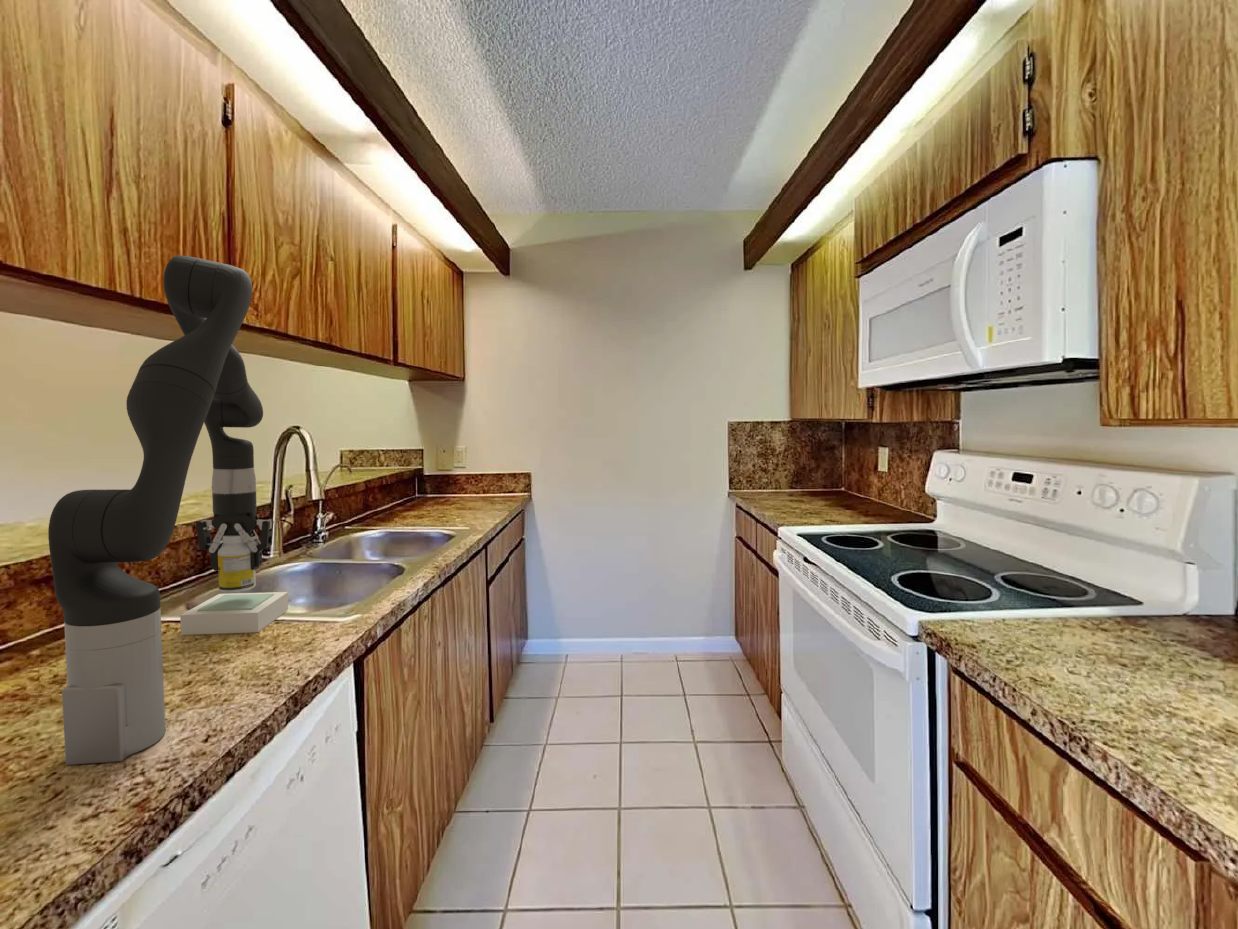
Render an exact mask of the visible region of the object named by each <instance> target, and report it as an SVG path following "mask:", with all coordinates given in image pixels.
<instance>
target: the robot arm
mask: <svg viewBox="0 0 1238 929" xmlns="http://www.w3.org/2000/svg"><path fill="white" fill-rule="evenodd" d="M163 289H164V290H163V291H164V294H165V298H166V301H167V304H168V307H169V308H170V311H171V312H172V315H173V316H174V318H175V320H176V322H177V323H178V326H179V328H180V329H181V331H182V333H183V336H181V337H179V338H177V339H175V340H173V341H172V342H170V343H168V344H166V345H164V346H163V347H160V348H159V349H158V350H156V351H154V352H153V353H152V354H150V355H149V356H148V357H147V358H145V360H144V361H143V362H142V364H141V365H140V366H139V369H138V371H137V373H136V376H135V377H134V378H135V379H134V381H133V383H132V385H131V386H130V387H131V388H130V389H129V391H128V395H127V396H126V400H125V401H126V413H127V416H128V418H129V421H130V423H131V426H132V428H133V430H134V432H135V435H136V437H137V438H138V440H139V443H140V446H141V448H142V451H143V453H142V454H143V461H142V465H141V469H140V473H139V476H138V478H137V481H136V482H135V484H134V486H132V488H131V489H80V490H74V491H71V492H68V493H66V494H65V495H63V496H62V497H61V498H60V499H59V500H58V501H57V502H56V504H55V505H54V507H53V508H52V511H51V514H50V518H49V523H48V532H47V533H48V536H47V537H48V546H49V547H48V548H49V549H48V550H49V556H50V561H51V562H50V563H51V570H52V578H53V585H54V586H53V588H54V595H55V598H56V601H57V603H58V604H59V606H60V608H61V609H62V612H63V622H64V623H63V625H64V645H65V646H64V647H65V666H66V667H65V668H66V684H67V685H66V687H64V689H62V692H61V701H62V718H63V722H62V723H63V734H64V735H63V736H64V737H63V738H64V757H65V758H64V759H65V765H66V766H67V765H68V766H69V765H80V764H81V765H82V764H97V763H111V762H114V763H115V762H122V761H123V760H125V759H126V758H128V757H129V756H131V755H134V754H136V753H138V752H140V751H143V750H145V749H148V748H149V747H150V746H151V747H152V745H154V744H155V743H157V742H158V741H159V740H161V739H162V738H163V736H164V735H165V734H166V712H165V711H166V710H165V709H166V708H165V689H164V688H165V687H164V686H165V684H164V668H163V667H164V663H163V644H162V643H163V642H162V641H163V637H162V611H161V609H162V608H161V591H160V590H159V588H158V586H157V585H156V584H153V583H151V582H147V581H144V580H141V579H138V578H136V577H135V576H132V575H130V574H128V573H127V572H126V571H124V570H123V569H122V568H121V567H120V566H119V564H118V563H138V562H141V563H142V562H146V561H152V560H153V559H156V558H157V557H158V556H159V555H161V554H162V553H163V552H164V550H165V548H166V547H167V546H168V545H169V542H170V540H171V538H172V536H173V534H174V529H175V525H176V523H177V519H178V514H179V511H180V507H181V500H182V497H183V493H184V488H185V484H186V480H187V475H188V471H189V467H190V464H191V461H192V457H193V454H194V452H195V449H196V445H197V442H198V439H199V437H200V434H201V431H202V429H203V425H205V427H206V431H207V433H208V437H209V440H210V444H211V451H212V452H211V453H212V476H211V477H212V478H211V493H212V495H211V496H212V501H211V502H212V513H213V517H212V519H210V520H209V519H201V520H199V521H197V522H196V523H195V526H196V527H195V528H196V534H197V535H196V536H197V544H198V548H199V550H201V551H206V552H209V554H210V566H211V568H212V569H213V571H214V572H215V571H218V550H219V549H220V548H221V547H223V546H224V543H223V541H222V538H223V536H236V535H240V536H241V537H242V539H243V541H244V542H245V543H246V544H248V546H249V548H250V549H251V551H252V552H251V570H258V569H259V568H260V567H261V566H262V564H263V550H266V549H268V548H269V547H271V546H272V544H273V537H274V536H273V535H274V522H275V520H274V519H272V518H269V519H259V517H258V516H257V509H258V508H257V482H256V481H257V479H256V474H255V472H256V471H255V462H254V461H255V460H254V459H255V457H254V456H255V454H254V444H253V442H251V441H250V440H247V439H242V438H239V437H238V438H237V437H232V436H229V435H228V434H227V432H225V430H224V428H243V429H244V428H245V429H247V428H254V427H256V426H258V425H259V424H260V423H261V421H262V420H263V417H264V409H263V405H262V402H261V400H260V398H259V397H258V395H257V393H256V392H255V391H254V390H253V388H252V387H251V385H250V383H249V382H248V377H247V370H246V365H245V361H244V359H243V357H242V355H241V354H240V352H239V350H237V348H236V347H235V345H233V343H234V341H235V339H236V337H237V335H238V333H239V331H240V328H241V327H242V324H243V323H244V321H245V318H246V315H247V313H248V311H249V308H250V305H251V301H252V296H253V283H252V279H251V277H250V276H249V273H248V272H247V271H245V270H244V269H243V268H239V267H237V266H234V265H231V264H228V263H227V264H226V263H222V262H219V261H218V262H217V261H214V260H213V261H212V260H208V259H204V258H199V257H195V256H191V255H190V256H189V255H182V254H181V255H175V256H173V257H171V259H169V261H168V262H167V263H166V266H165V268H164V272H163ZM257 526H258V528H259V531H261V534H260V540H259V535H258V534H257V532H256V531H255V529H256V528H257ZM212 528H214V529H215V531H217V532H216V534H215V536H214V538H213V540H212V535H211V530H212Z"/></svg>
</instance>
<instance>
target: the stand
mask: <svg viewBox="0 0 1238 929" xmlns="http://www.w3.org/2000/svg"><path fill="white" fill-rule="evenodd" d="M288 610H289V591H276V592H274V591H273V592H272V591H270V592H236V593H218V594H217V595H215V596H212V597H210V598H209V599H207V600H205V601H203V602H202V603H200V604H197V605H196V606H194V607H192V608H190V609H189V610H187V611H184V613H183V612H182V614H180V620H179V621H180V635H181V636H191V635H192V636H193V635H217V634H238V633H239V634H242V633H243V634H247V633H259V632H261V631H262V630H264V629H265V628H266V627H267V626H268V625H270V624H271V623H273V622H274V621H275V620H277V619H278V618H279V617H280V616H282V615H283V614H284V613H286V612H287V611H288Z"/></svg>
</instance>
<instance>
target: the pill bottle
mask: <svg viewBox="0 0 1238 929" xmlns="http://www.w3.org/2000/svg"><path fill="white" fill-rule="evenodd" d="M222 541H223V543H224V545H223V547H221V548H220V549H219V550H218V572H217V574H218V590H219V591H220V592H222V593H224V594H231V593H243V592H246V591H250V590H251V589H254V588H255V586H256V585H257V576H256V574H257V573H256V570H257V569H256V570H251V552H252V551H251V549H250V548H249V546H248V544H246V543H245V542H244V541H243V539H242V537H241V536H240V535H236V536H223V538H222Z"/></svg>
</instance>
